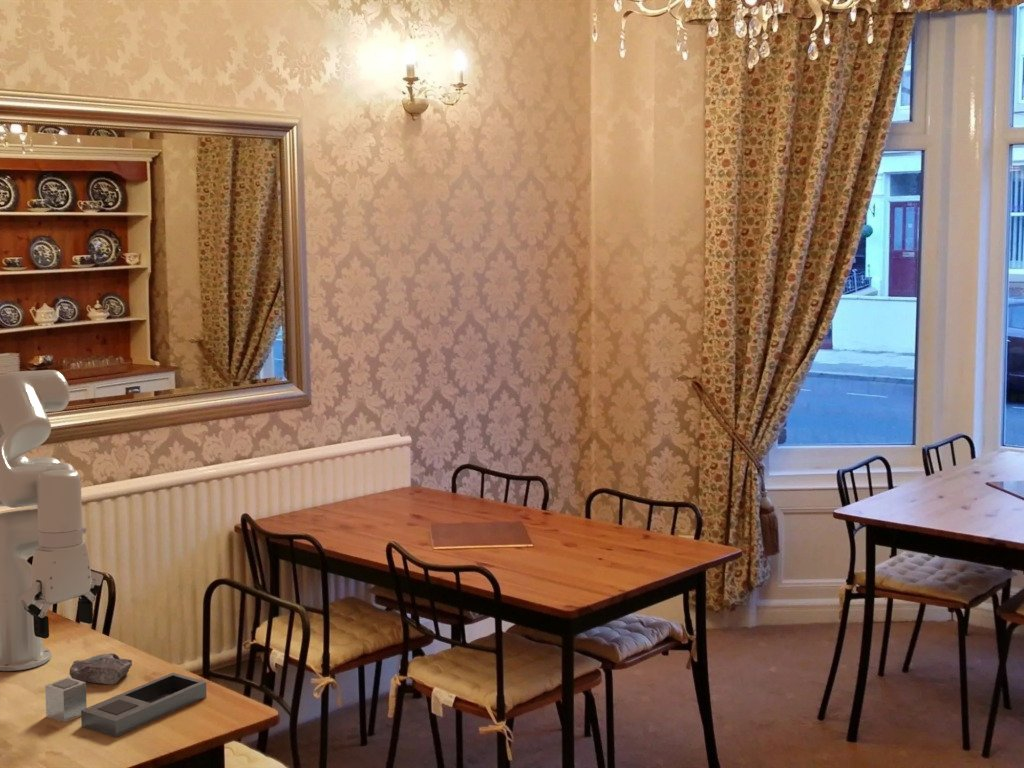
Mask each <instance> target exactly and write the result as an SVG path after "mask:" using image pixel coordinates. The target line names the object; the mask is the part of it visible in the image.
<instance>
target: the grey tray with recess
mask: <svg viewBox="0 0 1024 768" xmlns="http://www.w3.org/2000/svg"><path fill="white" fill-rule="evenodd" d="M204 698H207V681H205V680H201V679H197V678H194V677H190V676H186V675H183V674H179V673H176V672H171V673H168V674H166V675H164V676H162V677H161V676H160V677H158V678H156V679H154V680H151V681H149V682H146V683H144V684H142V685H139V686H137V687H135V688H132V689H129V690H127V691H125V692H122V693H120V694H118V695H115V696H112V697H110V698H107V699H105V700H103V701H100V702H98V703H95V704H93V705H90V706H89V707H88V706H87V708H85V709H83V710H81V716H80V719H81V721H80V722H81V727H83V728H86V729H90V730H92V731H95V732H98V733H102V734H104V735H107V736H111V737H113V738H118V737H120V736H122V735H125V734H127V733H129V732H131V731H133V730H135V729H138V728H140V727H143V726H145V725H146V724H149V723H151V722H153V721H156V720H158V719H160V718H163V717H164V716H167V715H169V714H171V713H174V712H176V711H179V710H180V709H182V708H184V707H187V706H189V705H192V704H193V703H196V702H199V701H201V700H202V699H204Z"/></svg>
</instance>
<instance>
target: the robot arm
mask: <svg viewBox="0 0 1024 768" xmlns="http://www.w3.org/2000/svg"><path fill="white" fill-rule="evenodd" d="M70 398H71V394H70V386H69V383H68V381H67V379H66V377H65V376H64V374H62V373H61V371H58V370H55V369H41V370H22V371H11V372H6V373H4V374H0V507H7V508H11V509H15V508H16V509H18V508H25V507H34V506H36V507H37V508H33V509H22V510H16V511H15V510H13V511H8V512H7V511H5V512H2V513H0V671H1V672H14V671H16V672H17V671H24V670H28V669H33V668H36V667H39V666H42V665H44V664H46V663H48V662H49V661H50V660H51V658H52V651H51V650H50V648H48V647H45V646H43V645H44V640H43V639H45V640H46V639H48V638H49V637H50V627H49V624H50V622H49V617H48V616H47V615H46V614H47V613H48V611H49V609H50V607H51V606H52V605H55V604H59V603H63V602H65V601H68V600H72V599H75V598H79V599H80V600H78V603H77V606H78V607H77V609H78V622H80V623H83V624H88V625H92V624H93V623H94V605H93V604H94V602H95V601H96V596H97V594H98V593H99V591H100V590H101V587H100V586H101V585H102V581H103V579H104V575H103V574H102V573H98V572H95V571H94V570H93V571H92V570H91V564H90V563H91V562H90V557H89V552H88V548H87V545H86V541H84V534H86V533H87V528H86V527H85V526H83V507H82V505H83V504H82V503H83V502H82V501H83V500H82V482H81V481H82V480H81V476H80V474H79V473H78V471H77V470H76V469H75V468H74V466H73V465H72V464H71V463H68V462H61V461H60V460H59V459H57V458H55V457H53V456H42V457H41V456H40V457H30V458H28V457H27V456H26V454H27V453H29V452H31V451H33V450H35V449H36V448H38V447H40V446H41V445H43V443H45V442H46V441H47V439H48V438H49V437H50V435H51V432H52V424H51V422H50V419H49V417H48V415H47V413H55V412H61V411H64V410H65V409H66V408H67V407H68V405H69V402H70ZM29 557H30V558H31V557H32V564H31V563H30V562H28V560H27V559H28V558H29Z"/></svg>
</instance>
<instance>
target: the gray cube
mask: <svg viewBox="0 0 1024 768" xmlns="http://www.w3.org/2000/svg"><path fill="white" fill-rule="evenodd" d="M44 687H45V690H44V694H45V714H46V715H45V716H46V718H49V719H53V720H55V721H58V722H62V723H66V722H69V721H71V719H72V720H73V718H74V719H76V717H77V718H78V716H79V717H81V710H83V709H85V708H88V706H87V681H79V680H76V679H73V678H72V677H68V676H66V677H65V678H62V679H59V680H56V681H54V682H51V683H48V684H45V686H44Z"/></svg>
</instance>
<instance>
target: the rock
mask: <svg viewBox="0 0 1024 768" xmlns="http://www.w3.org/2000/svg"><path fill="white" fill-rule="evenodd" d="M132 666H133V660H132V659H127V658H120V657H119V655H117V654H116V653H113V652H112V653H110V652H109V653H104V654H98V655H94V656H91V657H90V658H89V657H88V658H86V659H82V660H78V659H77V660H73V662H72V665H71V666H70V668H69V676H70V678H73V679H76V680H79V681H82V682H89V683H95V684H103V685H108V686H109V685H111V686H112V685H113V686H116V684H117V683H118V682H119V681H120V680H121V679H122V678H124V677H125V675H127V674H128V673H129V671H130V669H131V667H132Z"/></svg>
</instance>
